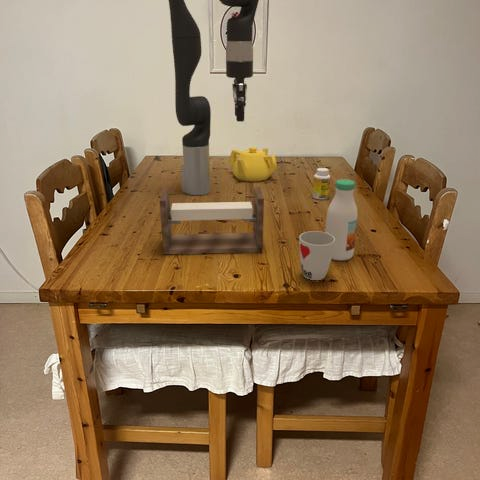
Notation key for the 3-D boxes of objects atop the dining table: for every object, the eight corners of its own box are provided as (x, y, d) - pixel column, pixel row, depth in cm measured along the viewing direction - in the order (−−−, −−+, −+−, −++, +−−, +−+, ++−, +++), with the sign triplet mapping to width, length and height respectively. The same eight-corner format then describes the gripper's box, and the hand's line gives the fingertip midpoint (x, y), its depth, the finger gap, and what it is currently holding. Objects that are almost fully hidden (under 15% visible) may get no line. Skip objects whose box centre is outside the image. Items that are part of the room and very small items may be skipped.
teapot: (278, 181, 180) (279, 151, 175) (236, 184, 177) (236, 153, 172) (266, 170, 195) (267, 141, 190) (227, 172, 192) (227, 143, 187)
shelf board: (171, 220, 120) (170, 209, 119) (172, 213, 125) (172, 203, 123) (252, 219, 121) (252, 208, 120) (250, 212, 126) (250, 201, 125)
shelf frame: (163, 255, 121) (159, 200, 115) (166, 239, 130) (163, 188, 124) (262, 252, 123) (263, 198, 116) (258, 237, 132) (259, 186, 126)
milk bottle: (335, 263, 117) (343, 187, 109) (317, 251, 123) (323, 179, 115) (359, 257, 120) (368, 183, 112) (340, 246, 126) (347, 175, 118)
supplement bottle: (319, 201, 160) (322, 172, 156) (309, 196, 164) (311, 168, 160) (331, 198, 163) (334, 169, 158) (321, 194, 167) (323, 166, 163)
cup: (294, 268, 114) (296, 231, 110) (326, 267, 115) (329, 230, 111) (300, 285, 107) (303, 245, 103) (335, 283, 108) (339, 244, 104)
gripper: (225, 57, 135) (225, 114, 142) (226, 60, 122) (227, 123, 129) (250, 57, 135) (250, 114, 142) (255, 60, 122) (254, 123, 129)
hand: (239, 118), depth 135 cm, fingers open, 8 cm apart
